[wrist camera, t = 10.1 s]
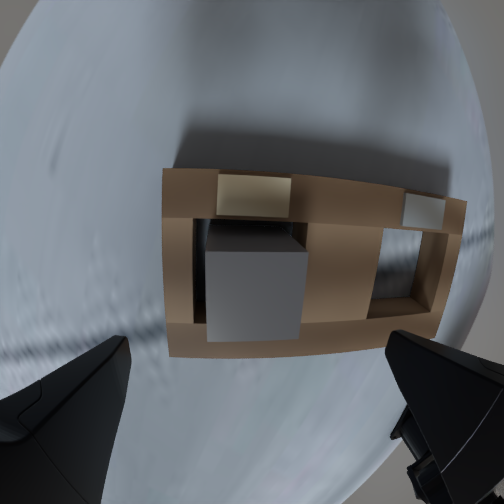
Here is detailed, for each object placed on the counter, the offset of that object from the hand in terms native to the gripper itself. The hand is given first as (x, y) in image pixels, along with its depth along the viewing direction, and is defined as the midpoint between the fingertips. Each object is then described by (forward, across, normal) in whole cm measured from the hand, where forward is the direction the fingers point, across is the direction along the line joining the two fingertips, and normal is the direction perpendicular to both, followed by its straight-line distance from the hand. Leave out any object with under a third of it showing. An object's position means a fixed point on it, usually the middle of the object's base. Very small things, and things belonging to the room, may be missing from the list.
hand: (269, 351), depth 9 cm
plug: (+10, 0, 0) cm, 10 cm away
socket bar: (+10, -6, 0) cm, 11 cm away
